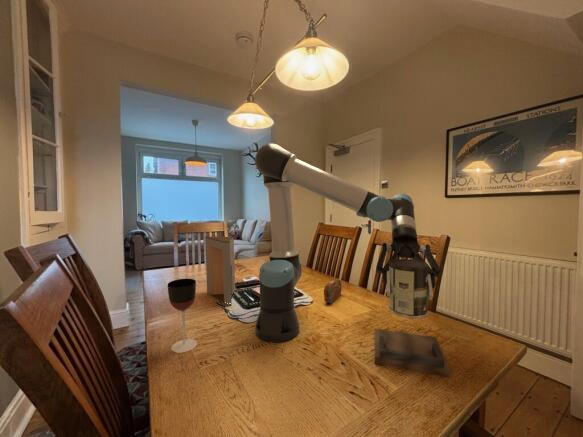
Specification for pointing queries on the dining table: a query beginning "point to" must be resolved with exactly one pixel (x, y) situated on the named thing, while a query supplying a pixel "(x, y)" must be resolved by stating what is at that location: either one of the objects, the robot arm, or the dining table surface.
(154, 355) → the dining table surface
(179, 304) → the wineglass
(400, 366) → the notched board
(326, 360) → the dining table surface
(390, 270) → the coffee can
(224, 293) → the cabinet
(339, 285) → the brown rounded slab
